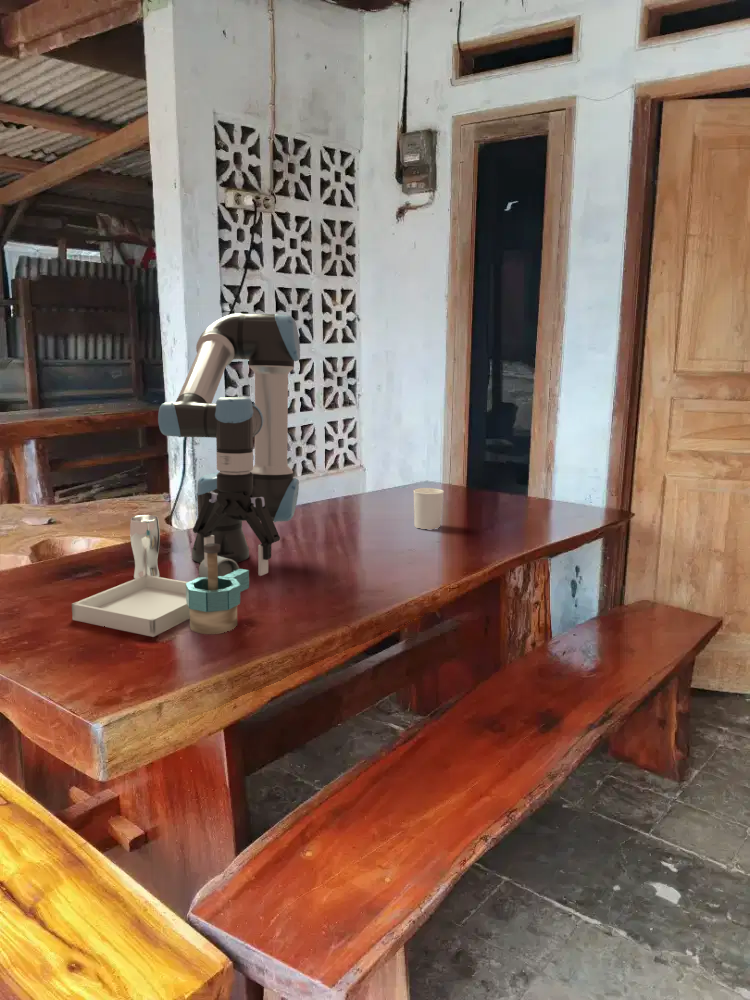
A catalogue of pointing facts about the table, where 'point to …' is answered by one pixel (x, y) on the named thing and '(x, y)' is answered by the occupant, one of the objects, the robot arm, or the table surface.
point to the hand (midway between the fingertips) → (236, 569)
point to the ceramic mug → (219, 567)
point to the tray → (137, 606)
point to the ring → (217, 592)
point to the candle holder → (428, 507)
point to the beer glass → (145, 544)
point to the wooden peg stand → (216, 619)
